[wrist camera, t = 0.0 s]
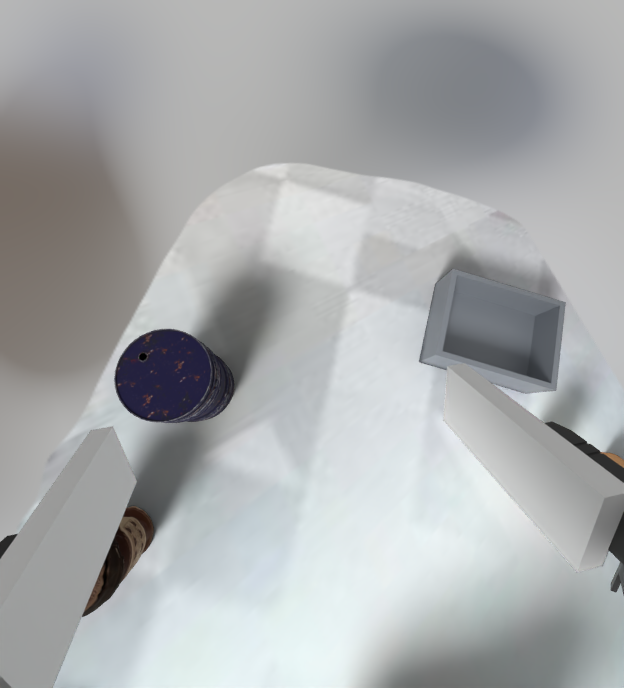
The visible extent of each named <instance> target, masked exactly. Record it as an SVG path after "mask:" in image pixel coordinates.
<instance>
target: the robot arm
mask: <svg viewBox="0 0 624 688" xmlns="http://www.w3.org/2000/svg"><path fill="white" fill-rule="evenodd" d="M443 421H444V422H445V423H446V424H447V425H448V427H449V428H450V429H451V430H452V431H453V432H454V433H455V435H456V436H457V437H458V438H459V439H460V440H461V441H462V443H463V444H464V445H465V446H466V447H467V448H468V449H469V450H470V452H471V453H472V454H473V455H474V456H475V457H476V458H477V460H478V461H479V462H480V463H481V464H482V465H483V466H484V468H485V469H486V470H487V471H488V472H489V473H490V474H491V476H492V477H493V478H494V479H495V480H496V481H497V482H498V484H499V485H500V486H501V487H502V488H503V489H504V490H505V491H506V493H507V494H508V495H509V496H510V497H511V498H512V499H513V501H514V502H515V503H516V504H517V505H518V506H519V507H520V509H521V510H522V511H523V512H524V513H525V514H526V515H527V517H528V518H529V519H530V520H531V521H532V522H533V523H534V524H535V526H536V527H537V528H538V529H539V530H540V531H541V532H542V534H543V535H544V536H545V537H546V538H547V539H548V540H549V542H550V543H551V544H552V545H553V546H554V547H555V548H556V550H557V551H558V552H559V553H560V554H561V555H562V556H563V557H564V559H565V560H566V561H567V562H568V563H569V564H570V565H571V567H572V568H573V569H574V570H575V571H576V572H577V573H578V572H581V571H585V570H589V569H593V568H596V567H600V566H603V564H604V561H605V559H606V556H607V554H608V552H609V551H610V552H611V553H612V554H613V555H614V556H615V557H616V558H617V559H618V560H619V561H620V564H619V567H618V569H617V571H616V573H615V575H614V578H613V580H612V582H611V591H614V592H617V590H618V588H619V585H620V583H621V585H622V589H623V594H624V468H623V467H622V466H620V465H619V464H618V463H616V462H615V461H613V460H612V459H611V458H609V457H608V456H606V455H605V454H604V453H603V454H601V453H600V451H599V450H598V449H596V448H595V447H594V446H592V445H591V444H587V441H585V440H584V439H582V438H581V437H580V436H578V435H577V434H575V433H574V432H573V431H571V430H569V429H567V428H565V427H563V426H560V425H558V424H556V423H554V422H548V423H543V422H542V421H541V420H539V419H538V418H537V417H535V416H534V415H533V414H531V413H530V412H529V411H527V410H526V409H525V408H523V407H522V406H521V405H519V404H518V403H517V402H516V401H514V400H513V399H512V398H510V397H509V396H508V395H506V394H505V393H504V392H502V391H501V390H500V389H498V388H497V387H496V386H494V385H493V384H492V383H490V382H489V381H488V380H486V379H485V378H484V377H482V376H481V375H480V374H478V373H477V372H476V371H474V370H473V369H472V368H470V367H469V366H468V365H466V364H465V363H463V364H457V365H451V366H447V377H446V390H445V403H444V416H443ZM136 483H137V480H136V478H135V476H134V473H133V471H132V469H131V467H130V464H129V462H128V460H127V457H126V455H125V453H124V451H123V448H122V446H121V444H120V441H119V439H118V437H117V435H116V432H115V430H114V428H113V426H112V427H107V428H101V429H96V430H91V431H90V432H89V434H88V435H87V437H86V438H85V439H84V441H83V442H82V444H81V445H80V447H79V448H78V449H77V451H76V452H75V454H74V455H73V456H72V458H71V459H70V461H69V462H68V464H67V465H66V466H65V468H64V469H63V471H62V472H61V474H60V475H59V476H58V478H57V479H56V481H55V482H54V483H53V485H52V486H51V488H50V489H49V491H48V492H47V493H46V495H45V496H44V498H43V499H42V501H41V502H40V503H39V505H38V506H37V508H36V509H35V510H34V512H33V513H32V515H31V516H30V518H29V519H28V520H27V522H26V523H25V525H24V526H23V528H22V529H21V530H20V532H19V533H18V534H15V535H11V536H7V537H6V538H4V539H3V540H2V541H1V542H0V688H53V686H54V683H55V681H56V678H57V676H58V673H59V671H60V669H61V666H62V664H63V661H64V659H65V656H66V654H67V651H68V649H69V647H70V644H71V642H72V639H73V637H74V634H75V632H76V629H77V627H78V625H79V622H80V620H81V617H82V615H83V612H84V610H85V607H86V605H87V603H88V600H89V598H90V595H91V593H92V590H93V588H94V585H95V583H96V581H97V578H98V576H99V573H100V571H101V568H102V566H103V563H104V561H105V559H106V556H107V554H108V551H109V549H110V546H111V544H112V541H113V539H114V537H115V534H116V532H117V529H118V527H119V524H120V522H121V520H122V517H123V515H124V512H125V510H126V507H127V505H128V502H129V500H130V498H131V495H132V493H133V490H134V488H135V485H136Z"/></svg>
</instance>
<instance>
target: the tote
mask: <svg viewBox="0 0 624 688" xmlns="http://www.w3.org/2000/svg"><path fill="white" fill-rule="evenodd" d="M565 303H566V302H563V301H559V300H556V299H553V298H549V297H546V296H543V295H539V294H536V293H533V292H529V291H526V290H523V289H519V288H516V287H513V286H509V285H506V284H503V283H499V282H496V281H493V280H489V279H486V278H483V277H479V276H476V275H473V274H469V273H466V272H463V271H459V270H456V269H452V270H451V271H450V272H449V273H448V274H446V275H445V276H444V277H443V278H442V279H441V280H440V281H439V282H437V283H436V284H435V288H434V293H433V297H432V302H431V307H430V312H429V316H428V321H427V326H426V331H425V335H424V340H423V345H422V350H421V354H420V359H419V362H421V363H424V364H428V365H431V366H435V367H438V368H441V369H445V370H447V366H451V365H457V364H463V363H465V364H466V365H468V366H469V367H470V368H472V369H473V370H474V371H476V372H477V373H478V374H480V375H481V376H482V377H484V378H485V379H486V380H488V381H489V382H490V383H492V384H495V385H499V386H502V387H505V388H509V389H512V390H516V391H519V392H522V393H536V392H546V391H556V387H557V378H558V369H559V359H560V350H561V341H562V331H563V322H564V313H565Z"/></svg>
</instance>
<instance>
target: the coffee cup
mask: <svg viewBox="0 0 624 688" xmlns="http://www.w3.org/2000/svg"><path fill="white" fill-rule="evenodd" d="M153 531H154V529H153V524H152V521H151V519H150V517H149V516H148V515H147V514H146V512H145V511H144V510H142V509H140V508H138V507H136V506H131V507H128V508H126V510H125V512H124V515H123V517H122V520H121V522H120V524H119V527H118V529H117V532H116V534H115V537H114V539H113V541H112V544H111V546H110V549H109V551H108V554H107V556H106V559H105V561H104V563H103V566H102V568H101V571H100V573H99V576H98V578H97V581H96V583H95V585H94V588H93V590H92V593H91V595H90V598H89V600H88V603H87V605H86V607H85V610H84V612H83V615H82V617H83V616H86V615H88V614H90V613H91V612H93V611H95V610H96V609H97V608H98V607H100V606H101V605H102V604H103V603H104V602H106V601H107V600H108V599H109V598H110V597H111V596H112V595H113V593H114V592H115V590H116V589H117V588H118V586H119V584H120V583H121V582H122V581H123V579H124V578H125V577H126V576H127V574H128V573H129V572H130V570H131V569H132V568H133V567H134V566H135V564H136V563H137V561H138V560H139V558H140V556H141V554H142V553H144V552H145V551H146V550H147V548H148V547H149V545H150V543H151V541H152V537H153Z"/></svg>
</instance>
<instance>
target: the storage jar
mask: <svg viewBox="0 0 624 688" xmlns="http://www.w3.org/2000/svg"><path fill="white" fill-rule="evenodd" d="M114 380H115V389H116V393H117V395H118V398H119V400H120V401H121V403H122V404H123V406H124V407H125V408H126V409H127V410H128V411H129V412H130V413H132V414H133V415H134V416H136V417H138V418H140V419H143V420H146V421H150V422H163V423H179V422H185V421H187V422H197V421H203V420H207V419H210V418H213V417H215V416H217V415H218V414H220V413H221V412H222V411H223V410H224V409H225V408H226V407H227V405H228V404H229V402H230V401H231V399H232V396H233V392H234V380H233V376H232V373H231V371H230V369H229V368H228V367H227V365H226V364H225V363H224V362H223V361H222V360H221V359H220V358H219V357H218V356H216V355H215V354H213V352H212V351H211V350H210V349H209V348H208V347H206V346H205V345H204V344H203V343H202V342H200V341H199V340H197V339H196V338H194V337H193V336H191V335H190V334H188V333H186V332H183V331H180V330H175V329H159V330H154V331H151V332H148V333H146V334H144V335H142V336H140V337H139V338H137V339H135V340H134V341H133V342H132V343H131V344H130V345H129V346H128V347H127V348H126V349H125V350H124V352H123V353H122V355H121V357H120V359H119V361H118V363H117V366H116V370H115V378H114Z"/></svg>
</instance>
